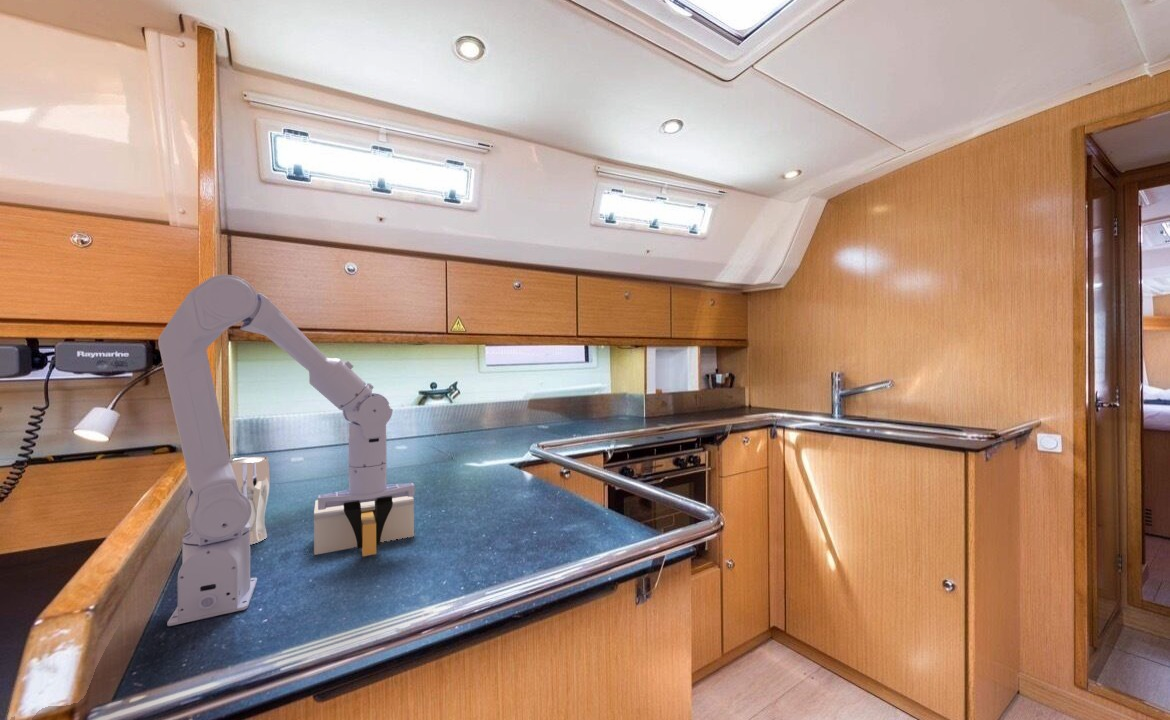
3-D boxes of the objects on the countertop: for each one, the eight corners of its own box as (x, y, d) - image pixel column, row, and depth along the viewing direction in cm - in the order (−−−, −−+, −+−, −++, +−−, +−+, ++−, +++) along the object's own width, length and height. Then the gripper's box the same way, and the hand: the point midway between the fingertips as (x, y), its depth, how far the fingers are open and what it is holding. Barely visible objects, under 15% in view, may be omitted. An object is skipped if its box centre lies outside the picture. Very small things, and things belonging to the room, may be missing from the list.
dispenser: (414, 537, 83) (414, 499, 84) (313, 556, 76) (313, 514, 76) (407, 522, 92) (406, 487, 92) (315, 537, 84) (315, 500, 84)
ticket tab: (376, 553, 74) (376, 523, 74) (362, 556, 73) (362, 525, 73) (370, 527, 86) (369, 501, 86) (358, 529, 85) (358, 503, 85)
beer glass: (214, 545, 81) (214, 461, 81) (257, 532, 87) (257, 454, 87) (234, 552, 78) (234, 465, 78) (277, 538, 84) (277, 457, 84)
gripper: (410, 455, 83) (410, 529, 83) (318, 464, 76) (319, 545, 76) (416, 462, 77) (416, 542, 76) (317, 472, 70) (317, 561, 69)
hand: (368, 544), depth 76 cm, fingers closed on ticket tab, 2 cm apart
